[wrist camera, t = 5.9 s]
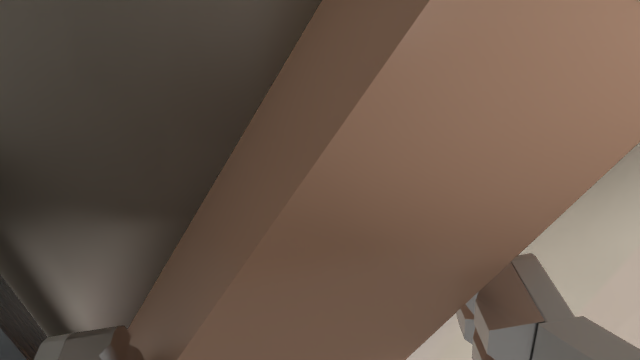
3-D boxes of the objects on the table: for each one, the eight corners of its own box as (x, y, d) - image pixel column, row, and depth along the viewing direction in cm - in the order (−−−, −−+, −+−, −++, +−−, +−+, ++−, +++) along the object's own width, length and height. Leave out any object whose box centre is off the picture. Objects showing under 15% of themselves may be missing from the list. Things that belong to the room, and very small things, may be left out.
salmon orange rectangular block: (398, -136, 9) (507, -111, 5) (544, -22, 11) (718, 68, 7) (113, 350, 16) (63, 521, 12) (223, 378, 18) (211, 539, 14)
